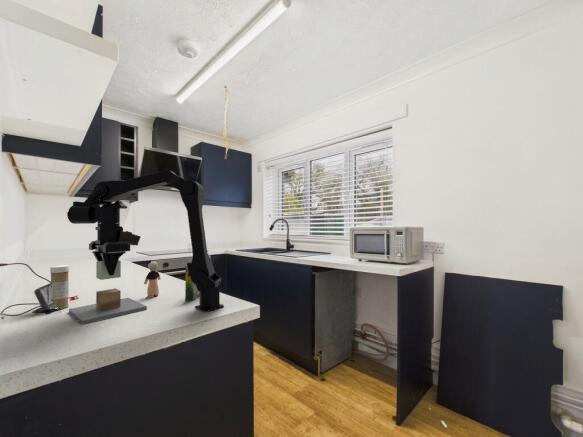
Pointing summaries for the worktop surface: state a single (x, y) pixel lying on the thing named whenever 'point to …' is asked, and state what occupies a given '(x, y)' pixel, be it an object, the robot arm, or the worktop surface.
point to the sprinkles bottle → (59, 285)
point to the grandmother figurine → (152, 280)
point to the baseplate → (105, 311)
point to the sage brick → (103, 273)
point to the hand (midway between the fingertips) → (108, 274)
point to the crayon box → (190, 288)
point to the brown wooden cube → (108, 299)
